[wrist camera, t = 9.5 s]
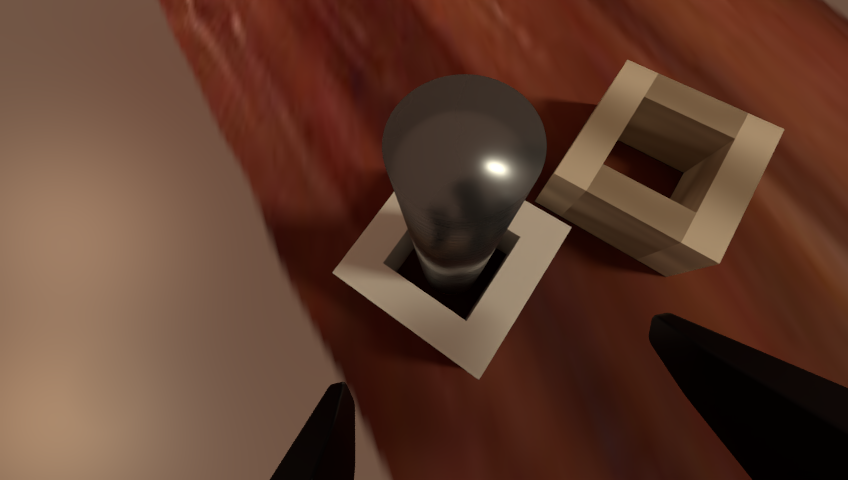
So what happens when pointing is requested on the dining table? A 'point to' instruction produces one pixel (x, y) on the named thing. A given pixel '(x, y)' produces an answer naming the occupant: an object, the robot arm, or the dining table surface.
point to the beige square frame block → (675, 146)
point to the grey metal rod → (461, 171)
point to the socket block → (439, 326)
